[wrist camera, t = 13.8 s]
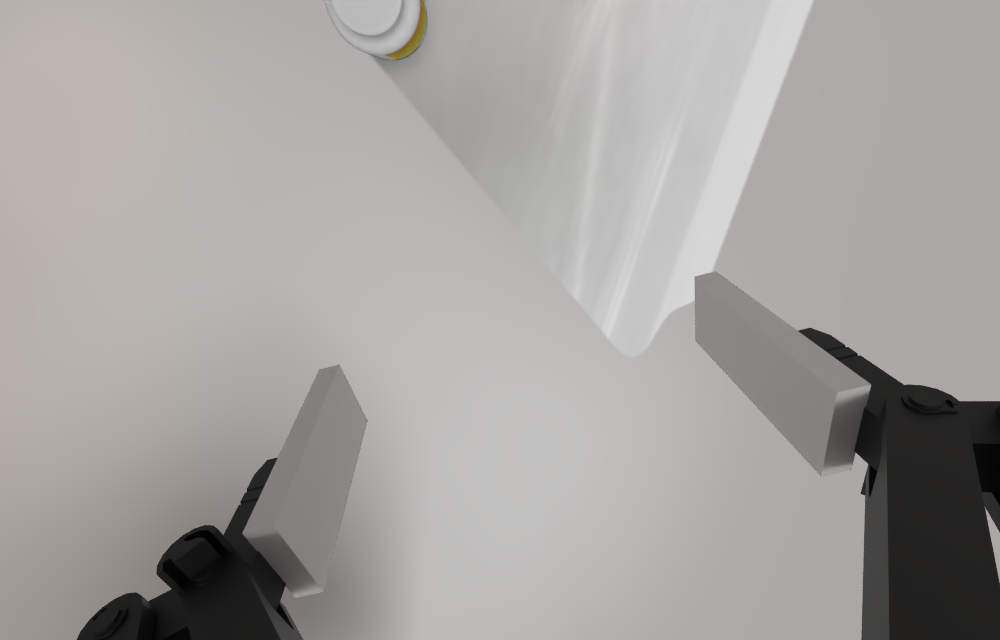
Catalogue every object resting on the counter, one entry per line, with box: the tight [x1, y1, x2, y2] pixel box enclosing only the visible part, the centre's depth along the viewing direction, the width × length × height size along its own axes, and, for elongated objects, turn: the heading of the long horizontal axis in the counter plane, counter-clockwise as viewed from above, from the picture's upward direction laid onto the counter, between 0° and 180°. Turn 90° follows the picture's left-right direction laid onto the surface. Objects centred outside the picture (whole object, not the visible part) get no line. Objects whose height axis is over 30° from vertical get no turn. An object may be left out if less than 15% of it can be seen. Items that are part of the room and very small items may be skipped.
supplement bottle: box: [325, 0, 427, 60], centre depth 28 cm, size 6×6×10 cm
